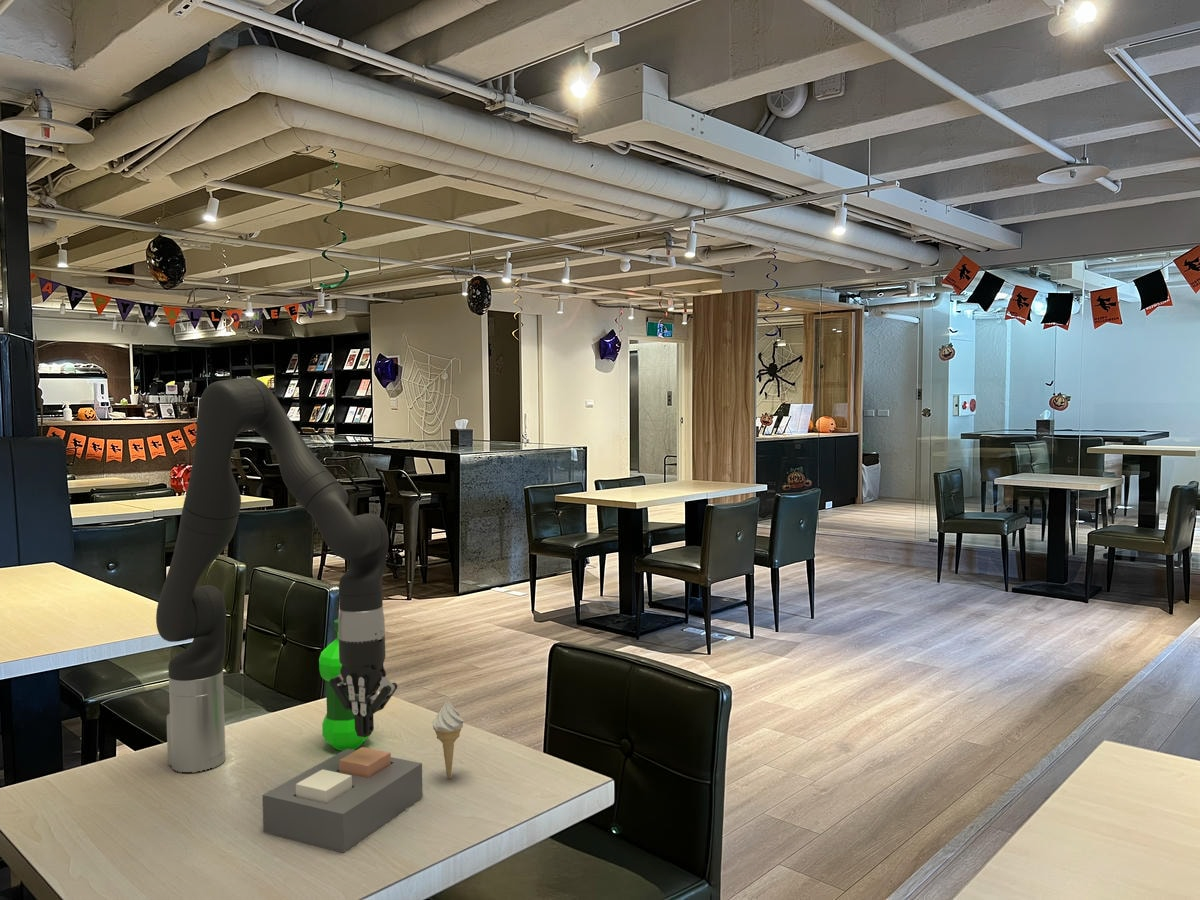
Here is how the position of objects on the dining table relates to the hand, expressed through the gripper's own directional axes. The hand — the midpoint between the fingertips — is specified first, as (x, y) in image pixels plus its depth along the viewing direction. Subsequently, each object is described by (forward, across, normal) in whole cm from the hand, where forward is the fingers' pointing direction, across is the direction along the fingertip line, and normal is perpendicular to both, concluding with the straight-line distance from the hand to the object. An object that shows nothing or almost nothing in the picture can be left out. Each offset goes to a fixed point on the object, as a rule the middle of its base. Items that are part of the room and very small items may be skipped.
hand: (364, 735), depth 147 cm
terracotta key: (+7, 0, 0) cm, 7 cm away
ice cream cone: (+12, +8, +13) cm, 19 cm away
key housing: (+12, 0, -5) cm, 12 cm away
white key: (+7, 0, -10) cm, 12 cm away
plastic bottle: (+12, -19, +18) cm, 29 cm away
